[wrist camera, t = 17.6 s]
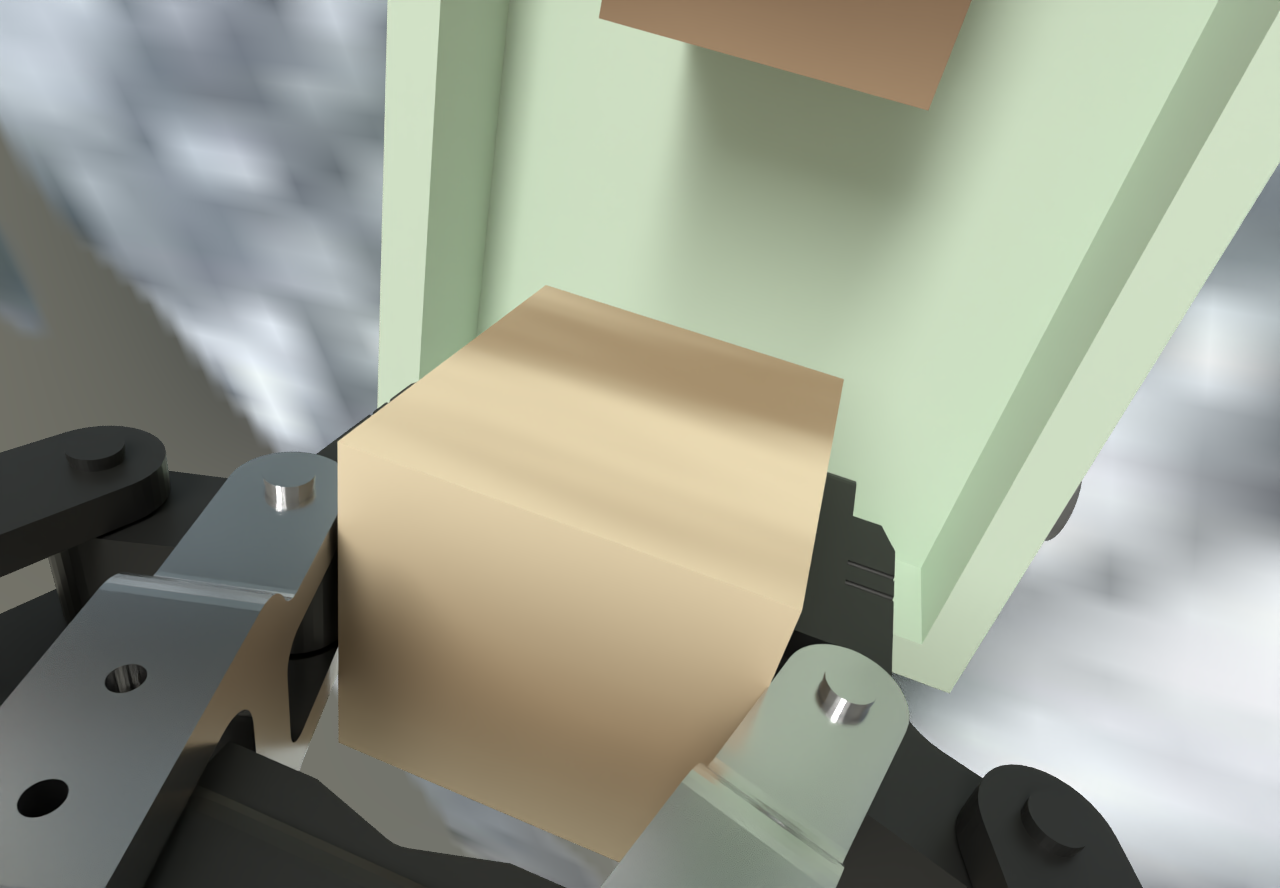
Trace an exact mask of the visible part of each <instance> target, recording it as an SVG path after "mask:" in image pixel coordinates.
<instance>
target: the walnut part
mask: <svg viewBox="0 0 1280 888" xmlns="http://www.w3.org/2000/svg"><path fill="white" fill-rule="evenodd" d="M971 1H972V0H602V2H601V8H600V14H599V19H603V20H606V21H610V22H614V23H617V24H621V25H624V26H628V27H631V28H635V29H639V30H642V31H646V32H649V33H653V34H656V35H660V36H664V37H667V38H671V39H674V40H678V41H681V42H685V43H689V44H692V45H696V46H699V47H703V48H706V49H710V50H714V51H717V52H721V53H724V54H728V55H731V56H735V57H739V58H742V59H746V60H749V61H753V62H756V63H760V64H764V65H767V66H771V67H774V68H778V69H781V70H785V71H789V72H792V73H796V74H799V75H803V76H806V77H810V78H814V79H817V80H821V81H824V82H828V83H831V84H835V85H839V86H842V87H846V88H849V89H853V90H856V91H860V92H864V93H867V94H871V95H874V96H878V97H881V98H885V99H889V100H892V101H896V102H899V103H903V104H906V105H910V106H914V107H917V108H921V109H924V110H929V108H930V105H931V103H932V100H933V98H934V95H935V93H936V90H937V87H938V85H939V82H940V80H941V77H942V75H943V72H944V70H945V67H946V65H947V62H948V59H949V57H950V54H951V52H952V49H953V47H954V44H955V42H956V39H957V36H958V34H959V31H960V29H961V26H962V24H963V21H964V19H965V16H966V14H967V11H968V8H969V6H970V3H971Z"/></svg>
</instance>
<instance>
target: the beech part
mask: <svg viewBox="0 0 1280 888" xmlns="http://www.w3.org/2000/svg"><path fill="white" fill-rule="evenodd" d="M843 382H844V379H842V378H839V377H835V376H832V375H829V374H826V373H823V372H820V371H816V370H813V369H810V368H807V367H804V366H801V365H797V364H794V363H791V362H788V361H785V360H782V359H778V358H775V357H772V356H769V355H766V354H763V353H760V352H756V351H753V350H750V349H747V348H744V347H741V346H737V345H734V344H731V343H728V342H725V341H722V340H718V339H715V338H712V337H709V336H706V335H703V334H699V333H696V332H693V331H690V330H687V329H684V328H680V327H677V326H674V325H671V324H668V323H665V322H661V321H658V320H655V319H652V318H649V317H646V316H642V315H639V314H636V313H633V312H630V311H627V310H623V309H620V308H617V307H614V306H611V305H608V304H604V303H601V302H598V301H595V300H592V299H589V298H585V297H582V296H579V295H576V294H573V293H570V292H566V291H563V290H560V289H557V288H554V287H551V286H548V285H545V286H544V287H543V288H541V289H540V290H539V291H537V292H536V293H535V294H533V295H532V296H531V297H529V298H528V299H527V300H525V301H524V302H523V303H521V304H520V305H519V306H517V307H516V308H515V309H513V310H512V311H511V312H509V313H508V314H507V315H505V316H504V317H503V318H501V319H500V320H499V321H497V322H496V323H495V324H493V325H492V326H491V327H489V328H488V329H487V330H485V331H484V332H483V333H481V334H480V335H479V336H477V337H476V338H475V339H473V340H472V341H471V342H469V343H468V344H467V345H465V346H464V347H463V348H461V349H460V350H459V351H457V352H456V353H455V354H453V355H452V356H451V357H449V358H448V359H447V360H445V361H444V362H443V363H441V364H440V365H439V366H437V367H436V368H435V369H433V370H432V371H431V372H429V373H428V374H427V375H425V376H424V377H423V378H421V379H420V380H419V381H417V382H416V383H415V384H413V385H412V386H411V387H409V388H408V389H407V390H405V391H404V392H403V393H401V394H400V395H399V396H397V397H396V398H395V399H394V400H392V401H391V402H390V403H388V404H387V405H386V406H384V407H383V408H382V409H380V410H379V411H378V412H376V413H375V414H374V415H372V416H371V417H370V418H368V419H367V420H366V421H364V422H363V423H362V424H360V425H359V426H358V427H356V428H355V429H354V430H352V431H351V432H350V433H348V434H347V435H346V436H344V437H343V438H342V439H340V440H339V441H338V707H339V743H341V744H343V745H346V746H348V747H351V748H353V749H355V750H358V751H360V752H362V753H365V754H367V755H369V756H372V757H374V758H376V759H378V760H381V761H383V762H386V763H388V764H390V765H393V766H395V767H397V768H400V769H402V770H404V771H407V772H409V773H411V774H414V775H416V776H418V777H421V778H423V779H425V780H428V781H430V782H432V783H435V784H437V785H439V786H442V787H444V788H446V789H449V790H451V791H453V792H456V793H458V794H460V795H463V796H465V797H467V798H470V799H472V800H474V801H477V802H479V803H481V804H484V805H486V806H489V807H491V808H493V809H496V810H498V811H500V812H503V813H505V814H507V815H510V816H512V817H514V818H517V819H519V820H521V821H524V822H526V823H528V824H531V825H533V826H535V827H538V828H540V829H542V830H545V831H547V832H549V833H552V834H554V835H556V836H559V837H561V838H563V839H566V840H568V841H570V842H573V843H575V844H577V845H580V846H582V847H584V848H587V849H589V850H592V851H594V852H596V853H599V854H601V855H603V856H606V857H608V858H610V859H613V860H615V861H617V862H620V861H621V860H622V859H623V857H624V856H625V855H626V853H627V852H628V851H629V849H630V848H631V847H632V846H633V844H634V843H635V842H636V840H637V839H638V838H639V837H640V835H641V834H642V833H643V831H644V830H645V829H646V827H647V826H648V825H649V824H650V822H651V821H652V820H653V818H654V817H655V816H656V815H657V813H658V812H659V811H660V809H661V808H662V807H663V805H664V804H665V803H666V802H667V800H668V799H669V798H670V796H671V795H672V794H673V792H674V791H675V790H676V789H677V787H678V786H679V785H680V783H681V782H682V781H683V780H684V778H685V777H686V776H687V775H688V774H689V772H690V771H691V770H692V769H693V768H694V767H695V766H696V765H697V764H699V763H701V762H702V763H704V764H705V765H706V766H708V765H709V764H710V763H711V762H712V761H713V759H714V758H715V757H716V755H717V754H718V753H719V751H720V750H721V749H722V747H723V746H724V745H725V743H726V742H727V741H728V739H729V738H730V737H731V735H732V734H733V733H734V731H735V730H736V729H737V727H738V726H739V725H740V723H741V722H742V721H743V719H744V718H745V717H746V715H747V714H748V713H749V711H750V710H751V709H752V707H753V706H754V705H755V703H756V702H757V701H758V699H759V698H760V697H761V695H762V694H763V693H764V691H765V690H766V689H767V687H769V686H770V683H771V681H772V679H773V677H774V674H775V672H776V670H777V667H778V665H779V663H780V660H781V658H782V656H783V653H784V651H785V649H786V646H787V644H788V642H789V640H790V637H791V635H792V633H793V630H794V628H795V626H796V623H797V621H798V619H799V616H800V614H801V612H802V608H803V603H804V597H805V592H806V586H807V581H808V575H809V570H810V564H811V559H812V553H813V547H814V542H815V536H816V531H817V525H818V520H819V514H820V509H821V503H822V498H823V492H824V487H825V481H826V476H827V470H828V464H829V459H830V453H831V448H832V442H833V437H834V431H835V426H836V420H837V415H838V409H839V404H840V398H841V393H842V387H843Z"/></svg>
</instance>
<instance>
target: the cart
mask: <svg viewBox="0 0 1280 888" xmlns="http://www.w3.org/2000/svg"><path fill="white" fill-rule="evenodd" d="M601 2H602V0H388V11H387V51H386V90H385V130H384V170H383V209H382V249H381V288H380V328H379V367H378V407H377V409H378V408H379V407H380V406H382V405H383V404H384V403H386V402H387V403H389V402H390V399H391V398H392V397H394V396H395V395H396V394H398V393H399V392H400V391H402V390H403V389H405V388H406V387H407V386H409V385H410V384H412V383H415V382H417V381H419V380H420V379H421V378H423V377H424V376H425V375H427V374H428V373H429V372H431V371H432V370H433V369H435V368H436V367H437V366H439V365H440V364H441V363H443V362H444V361H445V360H447V359H448V358H449V357H451V356H452V355H453V354H455V353H456V352H457V351H459V350H460V349H461V348H463V347H464V346H465V345H467V344H468V343H469V342H471V341H472V340H473V339H475V338H476V337H477V336H479V335H480V334H481V333H483V332H484V331H485V330H487V329H488V328H489V327H491V326H492V325H493V324H495V323H496V322H497V321H499V320H500V319H501V318H503V317H504V316H505V315H507V314H508V313H509V312H511V311H512V310H513V309H515V308H516V307H517V306H519V305H520V304H521V303H523V302H524V301H525V300H527V299H528V298H529V297H531V296H532V295H533V294H535V293H536V292H537V291H539V290H540V289H541V288H543V287H544V286H545V285H548V286H551V287H554V288H557V289H560V290H563V291H566V292H570V293H573V294H576V295H579V296H582V297H585V298H589V299H592V300H595V301H598V302H601V303H604V304H608V305H611V306H614V307H617V308H620V309H623V310H627V311H630V312H633V313H636V314H639V315H642V316H646V317H649V318H652V319H655V320H658V321H661V322H665V323H668V324H671V325H674V326H677V327H680V328H684V329H687V330H690V331H693V332H696V333H699V334H703V335H706V336H709V337H712V338H715V339H718V340H722V341H725V342H728V343H731V344H734V345H737V346H741V347H744V348H747V349H750V350H753V351H756V352H760V353H763V354H766V355H769V356H772V357H775V358H778V359H782V360H785V361H788V362H791V363H794V364H797V365H801V366H804V367H807V368H810V369H813V370H816V371H820V372H823V373H826V374H829V375H832V376H835V377H839V378H842V379H844V382H843V387H842V393H841V398H840V404H839V409H838V415H837V420H836V426H835V431H834V437H833V442H832V448H831V453H830V459H829V464H828V470H827V472H829V473H832V474H835V475H838V476H841V477H844V478H847V479H850V480H853V481H856V494H855V503H854V511H853V516H855V517H858V518H861V519H864V520H867V521H870V522H873V523H876V524H878V525H881V526H882V527H883V529H884V531H885V533H886V535H887V537H888V539H889V541H890V542H891V544H892V546H893V548H894V550H895V576H894V579H893V581H894V598H893V601H894V616H893V651H892V672H894V673H896V674H899V675H902V676H904V677H907V678H910V679H912V680H915V681H918V682H921V683H923V684H926V685H929V686H931V687H934V688H937V689H939V690H942V691H945V692H948V693H950V692H951V690H952V689H953V687H954V685H955V684H956V682H957V681H958V679H959V677H960V676H961V674H962V673H963V671H964V669H965V668H966V666H967V664H968V663H969V661H970V660H971V658H972V656H973V655H974V653H975V652H976V650H977V648H978V647H979V645H980V644H981V642H982V640H983V639H984V637H985V636H986V634H987V632H988V631H989V629H990V627H991V626H992V624H993V623H994V621H995V619H996V618H997V616H998V615H999V613H1000V611H1001V610H1002V608H1003V607H1004V605H1005V603H1006V602H1007V600H1008V598H1009V597H1010V595H1011V594H1012V592H1013V590H1014V589H1015V587H1016V586H1017V584H1018V582H1019V581H1020V579H1021V578H1022V576H1023V574H1024V573H1025V571H1026V570H1027V568H1028V566H1029V565H1030V563H1031V561H1032V560H1033V558H1034V557H1035V555H1036V553H1037V552H1038V550H1039V549H1040V547H1041V545H1042V544H1043V542H1044V541H1048V540H1051V539H1052V538H1054V537H1055V536H1056V535H1057V534H1058V533H1059V532H1060V531H1061V530H1062V529H1063V527H1064V526H1065V524H1066V523H1067V521H1068V519H1069V518H1070V516H1071V514H1072V512H1073V509H1074V507H1075V504H1076V502H1077V499H1078V496H1079V492H1080V488H1081V483H1082V479H1083V478H1084V476H1085V475H1086V473H1087V471H1088V470H1089V468H1090V466H1091V465H1092V463H1093V462H1094V460H1095V458H1096V457H1097V455H1098V454H1099V452H1100V450H1101V449H1102V447H1103V446H1104V444H1105V442H1106V441H1107V439H1108V438H1109V436H1110V434H1111V433H1112V431H1113V429H1114V428H1115V426H1116V425H1117V423H1118V421H1119V420H1120V418H1121V417H1122V415H1123V413H1124V412H1125V410H1126V409H1127V407H1128V405H1129V404H1130V402H1131V400H1132V399H1133V397H1134V396H1135V394H1136V392H1137V391H1138V389H1139V388H1140V386H1141V384H1142V383H1143V381H1144V380H1145V378H1146V376H1147V375H1148V373H1149V372H1150V370H1151V368H1152V367H1153V365H1154V363H1155V362H1156V360H1157V359H1158V357H1159V355H1160V354H1161V352H1162V351H1163V349H1164V347H1165V346H1166V344H1167V343H1168V341H1169V339H1170V338H1171V336H1172V334H1173V333H1174V331H1175V330H1176V328H1177V326H1178V325H1179V323H1180V322H1181V320H1182V318H1183V317H1184V315H1185V314H1186V312H1187V310H1188V309H1189V307H1190V306H1191V304H1192V302H1193V301H1194V299H1195V297H1196V296H1197V294H1198V293H1199V291H1200V289H1201V288H1202V286H1203V285H1204V283H1205V281H1206V280H1207V278H1208V277H1209V275H1210V273H1211V272H1212V270H1213V268H1214V267H1215V265H1216V264H1217V262H1218V260H1219V259H1220V257H1221V256H1222V254H1223V252H1224V251H1225V249H1226V248H1227V246H1228V244H1229V243H1230V241H1231V240H1232V238H1233V236H1234V235H1235V233H1236V231H1237V230H1238V228H1239V227H1240V225H1241V223H1242V222H1243V220H1244V219H1245V217H1246V215H1247V214H1248V212H1249V211H1250V209H1251V207H1252V206H1253V204H1254V202H1255V201H1256V199H1257V198H1258V196H1259V194H1260V193H1261V191H1262V190H1263V188H1264V186H1265V185H1266V183H1267V182H1268V180H1269V178H1270V177H1271V175H1272V174H1273V172H1274V170H1275V169H1276V167H1277V165H1278V164H1279V162H1280V0H972V1H971V3H970V6H969V8H968V11H967V14H966V16H965V19H964V21H963V24H962V26H961V29H960V31H959V34H958V36H957V39H956V42H955V44H954V47H953V49H952V52H951V54H950V57H949V59H948V62H947V65H946V67H945V70H944V72H943V75H942V77H941V80H940V82H939V85H938V87H937V90H936V93H935V95H934V98H933V100H932V103H931V105H930V108H929V110H924V109H921V108H917V107H914V106H910V105H906V104H903V103H899V102H896V101H892V100H889V99H885V98H881V97H878V96H874V95H871V94H867V93H864V92H860V91H856V90H853V89H849V88H846V87H842V86H839V85H835V84H831V83H828V82H824V81H821V80H817V79H814V78H810V77H806V76H803V75H799V74H796V73H792V72H789V71H785V70H781V69H778V68H774V67H771V66H767V65H764V64H760V63H756V62H753V61H749V60H746V59H742V58H739V57H735V56H731V55H728V54H724V53H721V52H717V51H714V50H710V49H706V48H703V47H699V46H696V45H692V44H689V43H685V42H681V41H678V40H674V39H671V38H667V37H664V36H660V35H656V34H653V33H649V32H646V31H642V30H639V29H635V28H631V27H628V26H624V25H621V24H617V23H614V22H610V21H606V20H603V19H599V14H600V8H601Z"/></svg>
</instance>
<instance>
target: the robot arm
mask: <svg viewBox="0 0 1280 888" xmlns="http://www.w3.org/2000/svg"><path fill="white" fill-rule="evenodd" d="M415 383H416V382H415ZM415 383H412V384H410V385H409V386H407V387H406V388H405V389H403V390H402V391H400V392H399V393H398V394H396V395H395V396H394V397H392V398H391V399H390V402H391V401H392V400H394V399H395V398H396V397H397V396H399V395H400V394H401V393H403V392H404V391H405V390H407V389H408V388H409V387H411V386H412V385H413V384H415ZM390 402H389V403H390ZM387 404H388V403H387V402H386V403H384V404H383V405H382V406H380V407H379V408H378V409H376V410H375V411H374V412H373V415H374V414H375V413H376V412H378V411H379V410H380V409H382V408H383V407H384V406H386V405H387ZM370 417H371V415H368V416H367V417H366V418H364V419H363V420H362V421H360V422H359V423H357V424H356V425H355V426H353V427H352V428H351V429H349V430H348V431H347V432H345V433H344V434H343V435H341V436H340V437H339V438H337V439H336V440H335V441H333V442H332V443H331V444H329V445H328V446H327V447H325V448H324V449H323V450H321V451H320V452H319V453H317V454H312V453H305V452H281V453H274V454H269V455H265V456H261V457H258V458H255V459H253V460H250V461H248V462H247V463H245V464H243V465H241V466H240V467H239V468H237V469H236V470H235V471H234V472H233V473H232V474H231V475H230V477H229V478H221V477H212V476H205V475H197V474H189V473H181V472H173V471H168V464H167V458H166V451H165V447H164V445H163V443H162V442H161V441H160V440H159V439H158V438H157V437H155V436H154V435H152V434H150V433H148V432H145V431H142V430H139V429H135V428H130V427H123V426H97V427H88V428H82V429H77V430H73V431H69V432H65V433H62V434H59V435H56V436H53V437H49V438H46V439H43V440H40V441H37V442H33V443H30V444H27V445H24V446H20V447H17V448H14V449H11V450H8V451H4V452H1V453H0V577H2V576H4V575H7V574H9V573H12V572H14V571H16V570H19V569H21V568H24V567H26V566H28V565H31V564H33V563H36V562H38V561H40V560H43V559H45V558H48V559H49V563H50V567H51V570H52V574H53V578H54V582H55V586H56V589H55V590H53V591H50V592H48V593H46V594H44V595H42V596H39V597H37V598H35V599H33V600H30V601H28V602H26V603H24V604H21V605H19V606H17V607H15V608H13V609H10V610H8V611H6V612H3V613H1V614H0V888H565V887H563V886H561V885H558V884H556V883H554V882H552V881H549V880H547V879H545V878H542V877H540V876H538V875H536V874H533V873H531V872H529V871H526V870H524V869H522V868H519V867H517V866H515V865H513V864H510V863H503V862H496V861H490V860H483V859H476V858H470V857H463V856H455V855H449V854H442V853H436V852H429V851H423V850H416V849H409V848H405V847H401V846H398V845H396V844H393V843H392V842H391V841H389V840H388V839H386V838H385V837H384V836H383V835H382V834H381V833H379V832H378V831H377V830H376V829H375V828H374V827H373V826H371V825H370V824H369V823H368V822H367V821H365V820H364V819H363V818H362V817H361V816H360V815H358V814H357V813H356V812H355V811H354V810H353V809H351V808H350V807H349V806H348V805H347V804H346V803H344V802H343V801H342V800H341V799H340V798H338V797H337V796H336V795H335V794H334V793H333V792H331V791H330V790H329V789H328V788H327V787H326V786H324V785H323V784H322V783H321V782H319V780H317V779H315V778H313V777H311V776H309V775H306V774H304V773H302V772H300V767H301V764H302V761H303V759H304V756H305V753H306V751H307V748H308V746H309V743H310V741H311V739H312V736H313V734H314V731H315V729H316V726H317V724H318V721H319V719H320V717H321V714H322V712H323V709H324V707H325V704H326V702H327V699H328V697H329V694H330V692H331V690H332V687H333V685H334V682H335V680H336V677H337V675H338V441H339V440H340V439H342V438H343V437H344V436H346V435H347V434H348V433H350V432H351V431H352V430H354V429H355V428H356V427H358V426H359V425H360V424H362V423H363V422H364V421H366V420H367V419H368V418H370ZM855 494H856V481H853V480H850V479H847V478H844V477H841V476H838V475H835V474H832V473H829V472H827V476H826V481H825V487H824V492H823V498H822V503H821V509H820V514H819V520H818V525H817V531H816V536H815V542H814V547H813V553H812V559H811V564H810V570H809V575H808V581H807V586H806V592H805V597H804V603H803V608H802V612H801V614H800V616H799V619H798V621H797V623H796V626H795V628H794V630H793V633H792V635H791V637H790V640H789V642H788V644H787V646H786V649H785V651H784V653H783V656H782V658H781V660H780V663H779V665H778V667H777V670H776V672H775V674H774V677H773V679H772V681H771V683H770V686H769V687H767V689H766V690H765V691H764V693H763V694H762V695H761V697H760V698H759V699H758V701H757V702H756V703H755V705H754V706H753V707H752V709H751V710H750V711H749V713H748V714H747V715H746V717H745V718H744V719H743V721H742V722H741V723H740V725H739V726H738V727H737V729H736V730H735V731H734V733H733V734H732V735H731V737H730V738H729V739H728V741H727V742H726V743H725V745H724V746H723V747H722V749H721V750H720V751H719V753H718V754H717V755H716V757H715V758H714V759H713V761H712V762H711V763H710V764H709V765H708V766H706V765H705V764H704V763H702V762H701V763H699V764H697V765H696V766H695V767H694V768H693V769H692V770H691V771H690V772H689V774H688V775H687V776H686V777H685V778H684V780H683V781H682V782H681V783H680V785H679V786H678V787H677V789H676V790H675V791H674V792H673V794H672V795H671V796H670V798H669V799H668V800H667V802H666V803H665V804H664V805H663V807H662V808H661V809H660V811H659V812H658V813H657V815H656V816H655V817H654V818H653V820H652V821H651V822H650V824H649V825H648V826H647V827H646V829H645V830H644V831H643V833H642V834H641V835H640V837H639V838H638V839H637V840H636V842H635V843H634V844H633V846H632V847H631V848H630V849H629V851H628V852H627V853H626V855H625V856H624V857H623V859H622V860H621V861H620V862H619V864H618V865H617V866H616V868H615V869H614V870H613V872H612V873H611V874H610V875H609V877H608V878H607V879H606V881H605V882H604V883H603V884H602V886H601V887H600V888H1143V887H1142V885H1141V884H1140V882H1139V880H1138V878H1137V876H1136V874H1135V872H1134V870H1133V868H1132V866H1131V864H1130V862H1129V861H1128V859H1127V857H1126V855H1125V853H1124V851H1123V849H1122V847H1121V845H1120V843H1119V841H1118V839H1117V838H1116V836H1115V834H1114V833H1113V831H1112V829H1111V828H1110V826H1109V825H1108V823H1107V822H1106V821H1105V819H1104V818H1103V817H1102V815H1101V814H1100V813H1099V812H1098V811H1097V810H1096V809H1095V808H1094V806H1093V805H1092V804H1091V803H1090V802H1089V801H1087V800H1086V799H1085V798H1084V797H1083V796H1082V795H1081V794H1080V793H1078V792H1077V791H1076V790H1074V789H1073V788H1072V787H1070V786H1069V785H1067V784H1066V783H1064V782H1063V781H1061V780H1059V779H1058V778H1056V777H1054V776H1052V775H1050V774H1048V773H1046V772H1043V771H1041V770H1038V769H1035V768H1032V767H1027V766H1023V765H1003V766H999V767H996V768H994V769H992V770H991V771H989V772H988V773H987V774H986V775H985V776H984V778H981V777H980V776H978V775H977V774H975V773H974V772H972V771H971V770H969V769H968V768H966V767H965V766H963V765H962V764H960V763H959V762H957V761H956V760H954V759H953V758H951V757H950V756H948V755H947V754H945V753H944V752H942V751H941V750H939V749H938V748H937V747H935V746H934V745H933V744H931V743H930V742H929V741H928V740H927V739H926V738H925V737H923V736H922V735H921V734H920V733H919V732H918V731H917V729H916V728H915V727H914V726H913V725H912V724H911V723H910V721H909V709H908V704H907V702H906V699H905V696H904V695H903V693H902V691H901V689H900V687H899V686H898V685H897V683H896V682H895V681H894V679H893V678H892V651H893V616H894V601H893V598H894V581H893V579H894V576H895V550H894V548H893V546H892V544H891V542H890V541H889V539H888V537H887V535H886V533H885V531H884V529H883V527H882V526H881V525H878V524H876V523H873V522H870V521H867V520H864V519H861V518H858V517H855V516H853V511H854V503H855Z"/></svg>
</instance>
